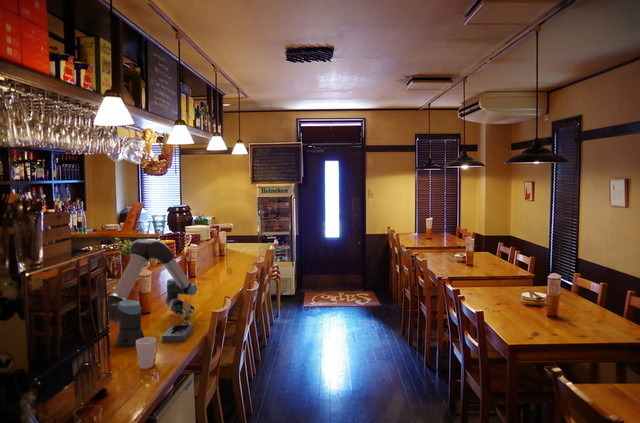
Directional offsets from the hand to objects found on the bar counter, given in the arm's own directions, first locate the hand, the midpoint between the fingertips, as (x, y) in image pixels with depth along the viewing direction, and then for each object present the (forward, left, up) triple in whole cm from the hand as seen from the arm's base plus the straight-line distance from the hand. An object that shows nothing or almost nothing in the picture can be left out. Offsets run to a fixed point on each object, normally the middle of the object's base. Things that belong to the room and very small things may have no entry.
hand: (189, 313), depth 278 cm
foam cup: (+38, -45, -9) cm, 59 cm away
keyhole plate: (+10, -13, -9) cm, 19 cm away
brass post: (-5, +1, -9) cm, 10 cm away
